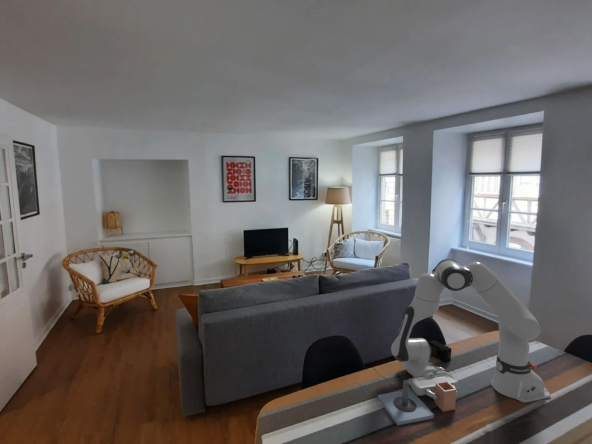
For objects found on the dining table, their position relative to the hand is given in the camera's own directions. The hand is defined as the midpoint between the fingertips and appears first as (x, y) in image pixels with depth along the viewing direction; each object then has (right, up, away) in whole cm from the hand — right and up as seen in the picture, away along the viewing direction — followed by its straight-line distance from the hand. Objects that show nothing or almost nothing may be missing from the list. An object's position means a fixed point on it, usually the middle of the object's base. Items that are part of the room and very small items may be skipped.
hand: (446, 396), depth 136 cm
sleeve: (0, -5, +1) cm, 5 cm away
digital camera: (+13, 0, +38) cm, 40 cm away
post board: (-17, -5, 0) cm, 18 cm away
